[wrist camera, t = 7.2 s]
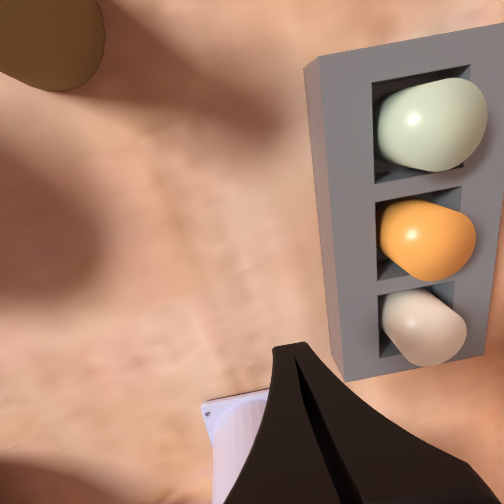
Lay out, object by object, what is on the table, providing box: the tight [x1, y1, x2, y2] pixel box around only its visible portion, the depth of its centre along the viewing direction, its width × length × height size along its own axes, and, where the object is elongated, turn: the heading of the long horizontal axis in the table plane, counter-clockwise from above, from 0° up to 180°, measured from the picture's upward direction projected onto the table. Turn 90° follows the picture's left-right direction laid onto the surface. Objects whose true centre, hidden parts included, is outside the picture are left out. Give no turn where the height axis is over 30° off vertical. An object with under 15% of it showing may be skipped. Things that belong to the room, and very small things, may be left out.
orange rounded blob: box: [375, 196, 476, 281], centre depth 19 cm, size 4×4×4 cm
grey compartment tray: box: [303, 23, 504, 382], centre depth 20 cm, size 20×10×3 cm, turn 10°
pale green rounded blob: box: [372, 78, 488, 172], centre depth 16 cm, size 4×4×4 cm
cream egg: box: [377, 287, 467, 367], centre depth 21 cm, size 4×4×4 cm
